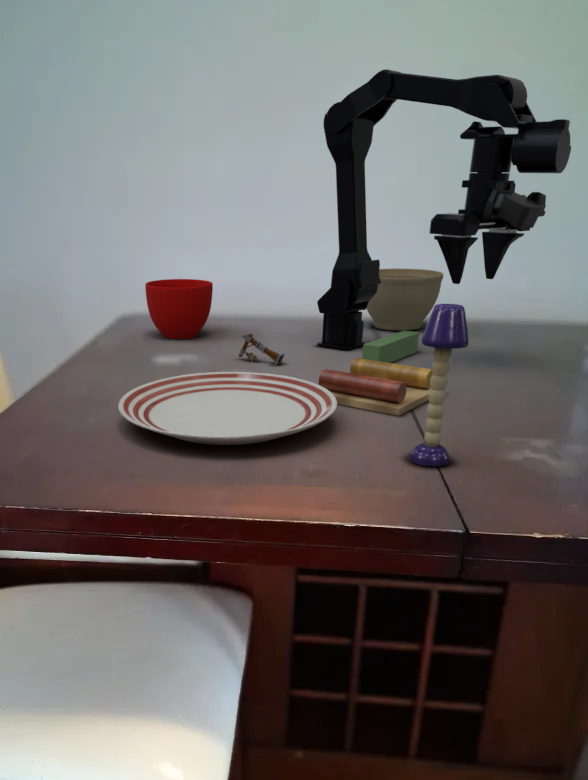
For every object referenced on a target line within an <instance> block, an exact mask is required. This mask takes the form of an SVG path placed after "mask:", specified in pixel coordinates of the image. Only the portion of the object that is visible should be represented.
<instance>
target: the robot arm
mask: <svg viewBox="0 0 588 780" xmlns="http://www.w3.org/2000/svg"><path fill="white" fill-rule="evenodd" d="M524 83H525V82H523V81H522V80H521V79H519V78H516V77H510V76H505V75H502V74H490V75H481V76H480V75H478V76H472V77H467V78H459V79H457V78H447V77H446V78H445V77H439V76H430V75H422V74H414V73H413V74H412V73H406V72H405V73H404V72H401V71H397V70H392V69H381V70H379V71H378V72H376V73H375V74H374V75H373V76H372V77H371V78H370V79H368V81H367V82H365V83H364V84H362V85H361V86H359V87H357V88H356V89H354V90H353V91H351V92H350V93H348V94H347V95H346V96H345V97H344V98H343V99H342V100H341V101H338V102H335V103H333V104H332V105H331V106H330V107H329V109H328V110H327V112H326V113H325V114H324V117H323V132H324V136H325V142H326V147H327V149H328V152H329V153H330V156H331V157H332V160H333V162H334V166H335V178H336V179H335V182H336V183H335V185H336V207H337V232H338V233H337V234H338V235H337V236H338V255H337V257H336V260H335V262H334V266H333V268H332V271H331V280H330V288H328V290H327V291H325V293H324V294H323V295H322V296H321V297H320V298H319V299H318V300H317V301H316V303H317V308H318V312H319V314H323V315H322V317H323V318H322V333H321V334H322V335H321V341H319V342H317V344H316V346H319V347H325V348H332V349H339V350H345V351H348V350H351V349H354V348H358V347H360V346H363V345H364V344H365V341H363V336H364V323H365V321H364V320H363V311H365V310H366V311H367V309H366V308H367V305H368V303H369V301H370V300H371V299H372V298H373V296H374V295H375V294H376V292H377V289H378V284H381V280H380V277H379V269H381V268H380V267H381V262H380V261H381V260H380V259H372V258H371V254H370V252H369V250H368V238H367V237H368V236H367V233H368V232H367V230H368V229H367V197H366V196H367V195H366V194H367V193H366V158H367V156H368V153H369V152H370V148H371V146H372V143H373V135H374V127H375V126H376V125H377V124H378V123H379V122H380V121H381V120H383V119H384V118H385V117H386V115H387V114H388V112H389V110H390V109H391V107H392V106H393V104H394V103H396V102H397V101H398V100H399V101H400V100H401V101H407V102H414V103H420V104H421V103H422V104H429V105H436V106H443V107H450V108H453V109H455V110H458V111H459V112H462V113H464V114H467V115H468V116H471V117H474V118H477V119H480V120H482V121H486V122H493V123H494V122H495V123H497V124H498V125H499V126H484V125H483V124H482V122H481V121H472V122H471V124H470V126H468V128H466V129H465V130H464V131H462V132H461V133H460V135H459V137H460V139H461V140H473V143H472V144H473V145H472V151H471V158H470V159H471V160H470V165H469V174H468V179H462V182H461V188H463V189H465V188H466V194H465V202H464V208H462V209H460V208H459V209H458V211H457V213H454V212H453V213H451V212H448V213H436V214H434V216H433V217H432V218H431V220H430V224H429V232H428V233H429V234H431V235H434V236H433V239H434V240H436V241H437V243H438V246H439V249H440V250H441V253H442V255H443V258H444V261H445V264H446V267H447V270H448V273H449V276H450V280H451V282H452V284H454V285H459V284H461V281H462V278H463V275H464V271H465V265H466V261H467V257H468V253H469V250H470V248H471V247H472V246H473V244H474V243H475V242H476V241H477V240H479V237H477V236H476V235H477V233H478V232H479V230H488V231H482V232H481V238H482V250H483V264H484V273H485V279H486V280H493V279H494V278H495V277H496V275H497V272H498V270H499V268H500V266H501V263H502V262H503V260H504V257H505V255H506V253H507V251H508V250H509V248H510V247H511V245H512V244H513V243H515V242H516V241H517V240H518V239H520V238H523V236H524V235H525V233H523V232H529V231H530V230H531V229H533V228H534V227H535V225H536V223H537V221H538V219H539V217H541V218H542V217H544V216H545V215H546V210H545V209H546V207H547V205H546V203H547V195H546V194H545V193H542V192H540V191H532V192H531V193H529V194H528V195H526V194H520V193H517V192H516V186H517V185H516V182H515V180H510V175H511V174H510V173H511V167H512V166H516V170H517V172H518V173H519V174H562V173H563V172H564V171H565V170H566V168H567V165H568V163H569V161H570V160H569V159H570V156H571V151H572V145H571V133H570V130H569V129H570V124H571V121H570V120H569V119H564V118H562V119H559V118H558V119H552V120H549V121H547V120H546V121H537V119H536V117H535V116H534V113H533V112H532V110H531V108H530V106H529V104H528V102H527V100H528V90H527V87H526V86H525V84H524ZM504 128H505V129H514V130H517V133H506V131H505V130H504ZM474 236H476V237H474Z"/></svg>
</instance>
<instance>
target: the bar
mask: <svg viewBox="0 0 588 780" xmlns="http://www.w3.org/2000/svg"><path fill="white" fill-rule="evenodd" d="M419 339H420V332H419V331H413V330H400V331H399V332H398V331H397V332H395V333H393V334H389V335H386V336H384V337H381V338H378V339H375V340H371V341H369V342H366V343H364V344H363V345H362V358H361V359H367V360H374V361H380V362H387V363H393V362H396V361H399V360H401V359H403V358H405V357H408V356H411V355H413V354H416V353H418V347H419Z"/></svg>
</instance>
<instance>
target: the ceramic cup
mask: <svg viewBox="0 0 588 780" xmlns="http://www.w3.org/2000/svg"><path fill="white" fill-rule="evenodd" d="M213 285H214V284H213V282H212V281H209V280H204V279H195V278H194V279H193V278H170V279H169V278H168V279H157V280H152V281H151V280H150V281H148V282H146V283H145V284H144V287H145V296H146V297H145V299H146V305H147V310H148V314H149V316H150V319H151V321H152V323H153V325H154V326H155V328H156V329H157V330H158V332H159V333H160V334H161V335H162V336H163V338H167V339H173V340H174V339H175V340H179V339H180V340H183V339H184V340H185V339H193V338H196V337H197V336H198V334H199V333H200V332H201V331H202V329H203V328H204V326H205V325H206V323H207V321H208V318H209V315H210V314H211V313H210V312H211V308H212V301H213V292H214V291H213V290H214V289H213V288H214V287H213Z"/></svg>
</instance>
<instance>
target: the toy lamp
mask: <svg viewBox="0 0 588 780" xmlns="http://www.w3.org/2000/svg"><path fill="white" fill-rule="evenodd" d="M421 344H422V345H423V346H425V347H429V348H434V351H433V359H434V360H433V363H432V365H431V369H432V372H433V375H432V377H431V381H430V386H431V390H430V392H429V400H428V405H427V408H426V415H427V418H426V420H425V430H426V431H425V433H424V437H423V442H422V443H419V444H417V445H416V446H415V447H413V449H412V450H411V452H410V455H409V461H410V462H411V463H413V464H416V465H419V466H422V467H423V466H424V467H442V466H446V465H448V464H449V463H450V460H451V459H450V454H449V451H448V450H447V449H446V448H445V447H444V445H441V444H440V443H441V440H442V435H441V431H442V429H443V424H444V423H443V416H444V414H445V404H444V403H445V401H446V398H447V392H446V388H447V386H448V381H449V380H448V374H449V372H450V365H451V364H450V359H451V357H452V354H453V350H455V349H463V348H467V346H468V345H469V331H468V323H467V316H466V309H465V307H464V306H463V304H459V303H458V304H457V303H438V304H434V306H433V308H432V310H431V312H430V316H429V318H428V321H427V324H426V326H425V329H424V332H423V334H422V338H421Z"/></svg>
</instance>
